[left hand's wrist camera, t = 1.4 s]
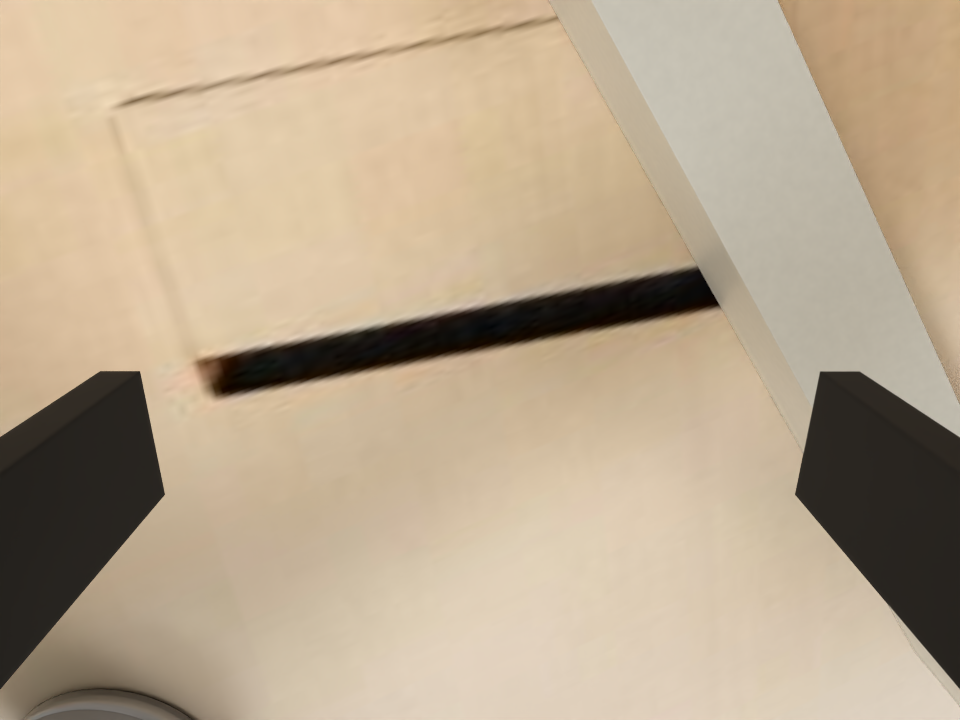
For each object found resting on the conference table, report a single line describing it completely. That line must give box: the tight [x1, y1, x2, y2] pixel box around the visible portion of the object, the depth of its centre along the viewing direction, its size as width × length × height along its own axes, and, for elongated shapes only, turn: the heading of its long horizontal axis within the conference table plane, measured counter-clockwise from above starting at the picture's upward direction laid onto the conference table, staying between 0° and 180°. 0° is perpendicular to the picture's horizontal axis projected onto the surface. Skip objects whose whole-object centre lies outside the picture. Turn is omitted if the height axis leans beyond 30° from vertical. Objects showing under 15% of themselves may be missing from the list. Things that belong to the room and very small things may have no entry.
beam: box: [548, 0, 960, 707], centre depth 28 cm, size 74×6×8 cm, turn 34°
